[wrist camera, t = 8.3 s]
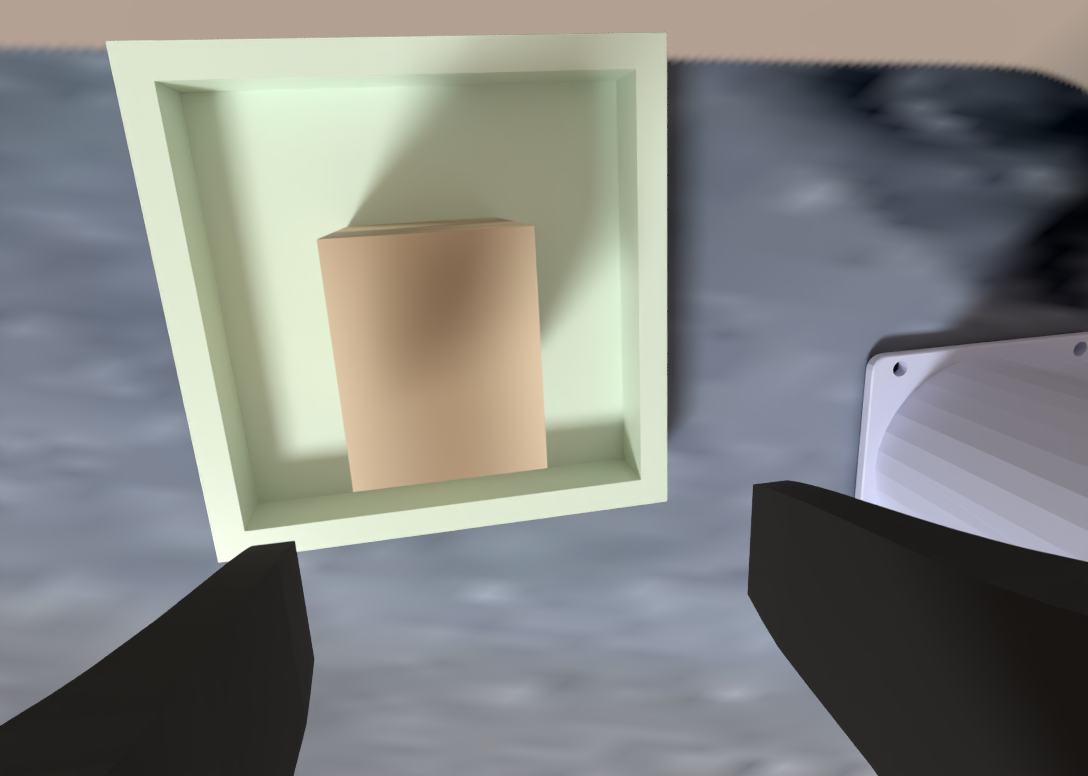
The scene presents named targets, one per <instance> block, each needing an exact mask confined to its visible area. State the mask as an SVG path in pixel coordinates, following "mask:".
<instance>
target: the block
mask: <svg viewBox="0 0 1088 776" xmlns="http://www.w3.org/2000/svg"><path fill="white" fill-rule="evenodd" d="M317 246H318V253H319V259H320V266H321V273H322V280H323V287H324V294H325V301H326V308H327V314H328V321H329V328H330V335H331V342H332V349H333V356H334V363H335V369H336V376H337V383H338V390H339V397H340V404H341V411H342V418H343V424H344V431H345V438H346V445H347V452H348V459H349V466H350V472H351V479H352V486H353V492H358V491H366V490H374V489H383V488H391V487H399V486H407V485H415V484H423V483H431V482H439V481H447V480H455V479H463V478H472V477H480V476H488V475H496V474H504V473H512V472H520V471H528V470H536V469H544V468H547V450H546V432H545V414H544V395H543V377H542V358H541V340H540V322H539V303H538V285H537V267H536V248H535V230H534V226H533V225H528V224H524V223H520V222H515V221H511V220H507V219H502V218H498V217H493V218H477V219H460V220H443V221H427V222H410V223H393V224H377V225H360V226H347V227H345V228H342V229H340V230H338V231H335V232H333V233H331V234H328V235H326V236H324V237H321V238H319V239H317Z"/></svg>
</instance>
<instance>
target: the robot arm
mask: <svg viewBox="0 0 1088 776" xmlns="http://www.w3.org/2000/svg"><path fill="white" fill-rule="evenodd" d="M1075 346H1076V348H1075ZM1074 348H1075V350H1074ZM897 362H899V367H898V370H897V371H896V372H895V373H893V368H894V365H895V364H896V363H897ZM748 596H749V597H750V599H751V601H752V603H753V605H754V607H755V608H756V610H757V612H758V614H759V616H760V617H761V619H762V621H763V623H764V624H765V626H766V628H767V629H768V631H769V633H770V634H771V636H772V638H773V639H774V641H775V643H776V644H777V646H778V647H779V649H780V650H781V651H782V653H783V654H784V655H785V657H786V658H787V659H788V661H789V662H790V663H791V665H792V666H793V667H794V668H795V670H796V671H797V672H798V674H799V675H800V676H801V677H802V679H803V680H804V681H805V683H806V684H807V685H808V687H809V688H810V689H811V690H812V692H813V693H814V694H815V695H816V697H817V698H818V699H819V701H820V702H821V703H822V704H823V706H824V707H825V708H826V709H827V711H828V712H829V713H830V714H831V716H832V717H833V718H834V720H835V721H836V722H837V723H838V725H839V726H840V727H841V728H842V730H843V731H844V732H845V733H846V735H847V736H848V737H849V739H850V740H851V741H852V742H853V744H854V745H855V746H856V747H857V749H858V750H859V751H860V753H861V754H862V755H863V756H864V758H865V759H866V760H867V761H868V763H869V764H870V765H871V767H872V768H873V769H874V771H875V772H876V773H877V775H878V776H1088V332H1080V333H1070V334H1061V335H1051V336H1041V337H1032V338H1022V339H1013V340H1003V341H994V342H984V343H974V344H965V345H955V346H946V347H936V348H927V349H917V350H907V351H898V352H888V353H880V354H877V355H875V356H874V357H872V358H871V359H870V361H869V362H868V364H867V368H866V377H865V388H864V399H863V411H862V422H861V434H860V445H859V457H858V468H857V480H856V491H855V498H853V497H850V496H847V495H844V494H841V493H838V492H834V491H831V490H827V489H824V488H820V487H817V486H813V485H809V484H805V483H800V482H795V481H788V480H787V481H778V482H770V483H762V484H754V485H753V497H752V517H751V537H750V557H749V577H748ZM313 666H314V655H313V648H312V642H311V636H310V630H309V624H308V618H307V612H306V606H305V600H304V594H303V587H302V581H301V575H300V569H299V563H298V557H297V551H296V545H295V541H287V542H279V543H271V544H263V545H255V546H250V547H249V548H247V549H246V550H244V551H243V552H241V553H240V554H238V555H237V556H236V557H234V558H233V559H232V560H230V561H229V562H228V563H227V564H225V565H224V566H223V567H222V568H220V569H219V570H218V571H217V572H215V573H214V574H213V575H212V576H210V577H209V578H208V579H207V580H206V581H204V582H203V583H202V584H201V585H199V586H198V587H197V588H196V589H194V590H193V591H192V592H191V593H189V594H188V595H187V596H186V597H184V598H183V599H182V600H181V601H179V602H178V603H177V604H176V605H174V606H173V607H172V608H171V609H169V610H168V611H167V612H166V613H164V614H163V615H162V616H161V617H159V618H158V619H157V620H155V621H154V622H153V623H151V624H150V625H149V626H147V627H146V628H144V629H143V630H142V631H140V632H139V633H138V634H136V635H135V636H134V637H132V638H131V639H129V640H128V641H127V642H125V643H124V644H123V645H121V646H120V647H119V648H117V649H116V650H114V651H113V652H112V653H110V654H109V655H108V656H106V657H105V658H104V659H102V660H101V661H99V662H98V663H97V664H95V665H94V666H93V667H91V668H90V669H88V670H87V671H85V672H84V673H82V674H81V675H80V676H78V677H77V678H75V679H74V680H72V681H71V682H69V683H68V684H66V685H65V686H63V687H61V688H60V689H58V690H57V691H55V692H54V693H52V694H51V695H49V696H48V697H46V698H44V699H43V700H41V701H40V702H38V703H36V704H35V705H33V706H32V707H30V708H28V709H27V710H25V711H23V712H22V713H20V714H19V715H17V716H15V717H14V718H12V719H11V720H9V721H7V722H6V723H4V724H3V725H1V726H0V776H294V772H295V768H296V764H297V760H298V756H299V752H300V748H301V744H302V740H303V736H304V732H305V728H306V723H307V716H308V708H309V701H310V693H311V684H312V675H313Z"/></svg>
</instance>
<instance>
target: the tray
mask: <svg viewBox="0 0 1088 776" xmlns="http://www.w3.org/2000/svg"><path fill="white" fill-rule="evenodd" d="M106 46H107V50H108V55H109V60H110V64H111V69H112V74H113V78H114V83H115V87H116V92H117V97H118V101H119V106H120V110H121V115H122V120H123V124H124V129H125V134H126V138H127V143H128V147H129V152H130V157H131V161H132V166H133V171H134V175H135V180H136V184H137V189H138V194H139V198H140V203H141V207H142V212H143V217H144V221H145V226H146V231H147V235H148V240H149V244H150V249H151V254H152V258H153V263H154V268H155V272H156V277H157V281H158V286H159V291H160V295H161V300H162V304H163V309H164V314H165V318H166V323H167V328H168V332H169V337H170V341H171V346H172V351H173V355H174V360H175V364H176V369H177V374H178V378H179V383H180V388H181V392H182V397H183V401H184V406H185V411H186V415H187V420H188V425H189V429H190V434H191V438H192V443H193V448H194V452H195V457H196V461H197V466H198V471H199V475H200V480H201V485H202V489H203V494H204V498H205V503H206V508H207V512H208V517H209V522H210V526H211V531H212V535H213V540H214V545H215V549H216V554H217V558H218V563H219V562H226V561H230V560H232V559H233V558H234V557H236V556H237V555H238V554H240V553H241V552H243V551H244V550H246V549H247V548H249V547H250V546H255V545H263V544H271V543H279V542H287V541H295V545H296V551H297V552H299V551H307V550H314V549H321V548H329V547H336V546H343V545H350V544H358V543H365V542H372V541H380V540H387V539H394V538H402V537H409V536H416V535H424V534H431V533H438V532H445V531H453V530H460V529H467V528H475V527H482V526H489V525H497V524H504V523H511V522H519V521H526V520H533V519H540V518H548V517H555V516H562V515H570V514H577V513H584V512H592V511H599V510H606V509H614V508H621V507H628V506H635V505H643V504H650V503H657V502H665V501H667V32H650V33H591V34H590V33H587V34H586V33H585V34H529V35H528V34H524V35H461V36H460V35H459V36H399V37H398V36H396V37H333V38H270V39H210V40H209V39H206V40H147V41H146V40H143V41H106ZM493 217H498V218H502V219H507V220H511V221H515V222H520V223H524V224H528V225H533V226H534V230H535V248H536V267H537V285H538V303H539V322H540V340H541V358H542V377H543V395H544V414H545V432H546V450H547V468H544V469H536V470H528V471H520V472H512V473H504V474H496V475H488V476H480V477H472V478H463V479H455V480H447V481H439V482H431V483H423V484H415V485H407V486H399V487H391V488H383V489H374V490H366V491H358V492H353V486H352V479H351V472H350V466H349V459H348V452H347V445H346V438H345V431H344V424H343V418H342V411H341V404H340V397H339V390H338V383H337V376H336V369H335V363H334V356H333V349H332V342H331V335H330V328H329V321H328V314H327V308H326V301H325V294H324V287H323V280H322V273H321V266H320V259H319V253H318V246H317V239H319V238H321V237H324V236H326V235H328V234H331V233H333V232H335V231H338V230H340V229H342V228H345V227H347V226H360V225H377V224H393V223H410V222H427V221H443V220H460V219H477V218H493Z"/></svg>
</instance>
